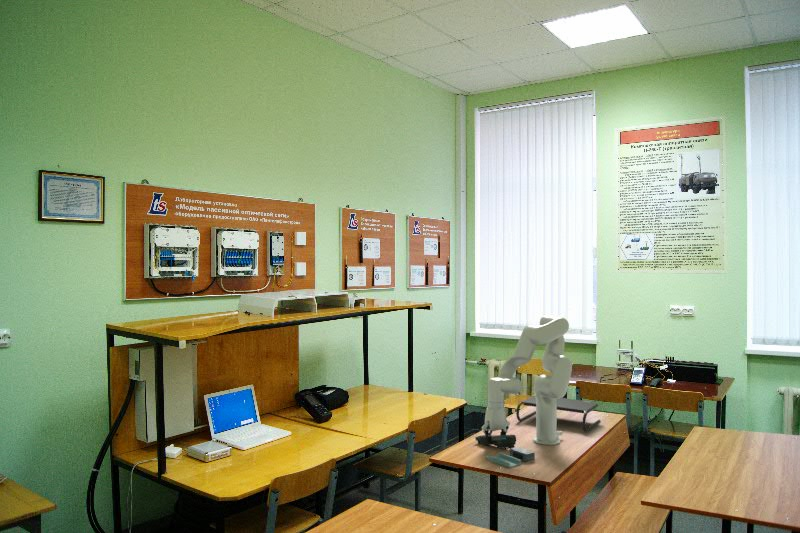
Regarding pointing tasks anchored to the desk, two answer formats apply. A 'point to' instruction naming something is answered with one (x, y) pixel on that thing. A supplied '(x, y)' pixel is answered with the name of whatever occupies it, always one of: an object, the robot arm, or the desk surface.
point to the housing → (522, 454)
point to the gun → (499, 440)
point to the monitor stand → (564, 408)
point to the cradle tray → (504, 460)
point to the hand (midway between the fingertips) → (496, 442)
